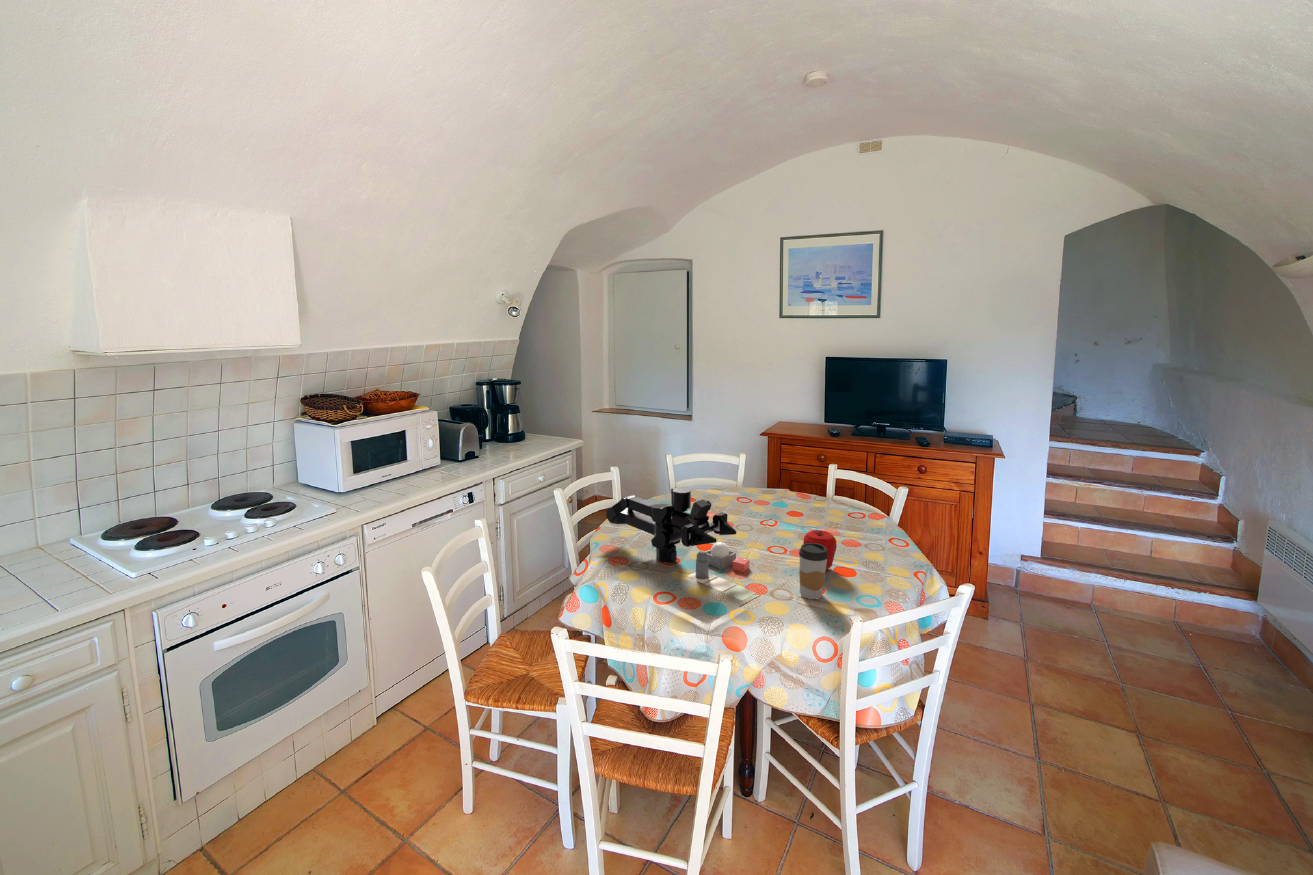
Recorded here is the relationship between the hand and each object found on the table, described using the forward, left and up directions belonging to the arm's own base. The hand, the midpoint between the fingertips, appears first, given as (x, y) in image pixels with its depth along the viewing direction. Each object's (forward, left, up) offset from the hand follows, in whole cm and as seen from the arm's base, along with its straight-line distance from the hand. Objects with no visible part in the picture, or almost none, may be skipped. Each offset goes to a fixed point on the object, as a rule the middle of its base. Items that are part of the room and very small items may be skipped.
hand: (726, 536), depth 180 cm
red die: (-3, +12, -17) cm, 21 cm away
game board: (-1, -1, -17) cm, 17 cm away
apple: (+13, +32, -17) cm, 38 cm away
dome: (-11, +11, -15) cm, 21 cm away
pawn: (-8, -1, -15) cm, 18 cm away
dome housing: (-11, +11, -17) cm, 23 cm away
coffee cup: (+21, +15, -17) cm, 30 cm away
